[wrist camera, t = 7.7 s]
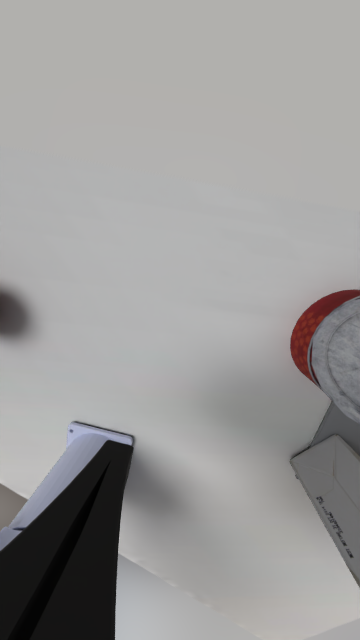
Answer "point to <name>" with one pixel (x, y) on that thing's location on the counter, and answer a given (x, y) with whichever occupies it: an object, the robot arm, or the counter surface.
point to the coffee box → (335, 493)
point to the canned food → (332, 348)
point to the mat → (338, 429)
